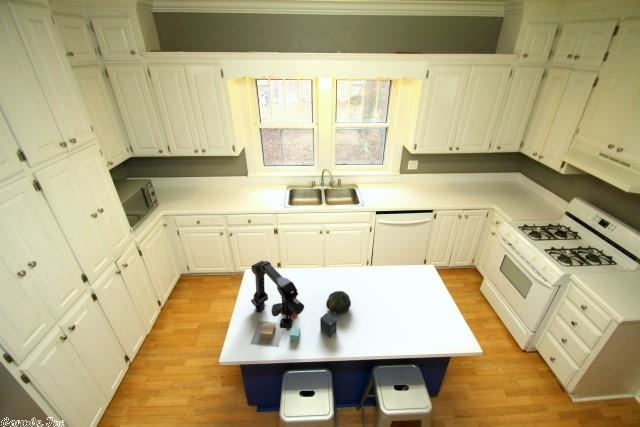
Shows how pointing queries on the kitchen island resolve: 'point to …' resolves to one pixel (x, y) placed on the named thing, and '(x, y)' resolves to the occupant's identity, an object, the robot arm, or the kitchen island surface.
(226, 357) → the kitchen island surface
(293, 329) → the teal brick
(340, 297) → the squash
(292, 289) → the robot arm
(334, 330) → the box
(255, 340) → the baseplate
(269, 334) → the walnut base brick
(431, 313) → the kitchen island surface
